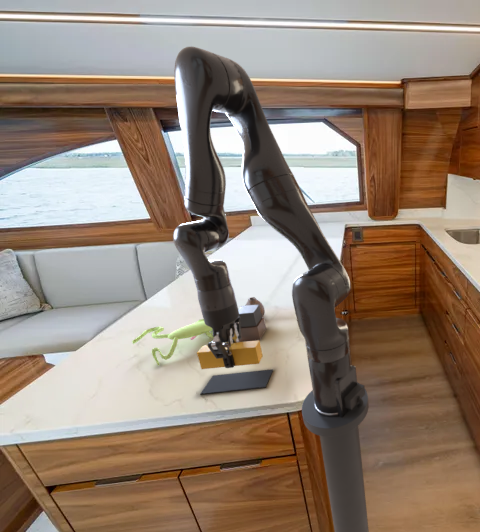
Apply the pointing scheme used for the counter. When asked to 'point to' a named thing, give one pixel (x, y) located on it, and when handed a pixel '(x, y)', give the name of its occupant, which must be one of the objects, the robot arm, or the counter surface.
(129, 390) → the counter surface
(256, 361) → the bar
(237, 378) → the mat
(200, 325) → the figurine
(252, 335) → the tower base
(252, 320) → the tower top
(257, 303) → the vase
